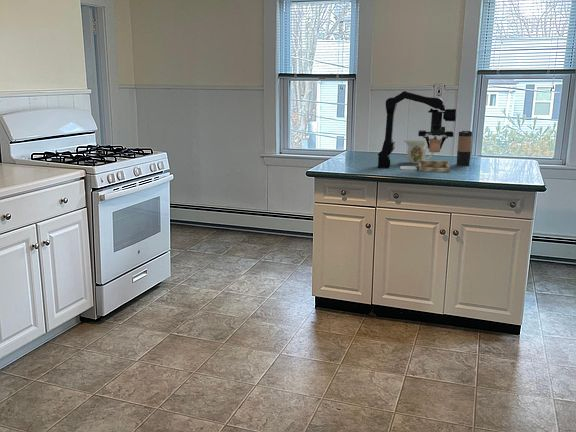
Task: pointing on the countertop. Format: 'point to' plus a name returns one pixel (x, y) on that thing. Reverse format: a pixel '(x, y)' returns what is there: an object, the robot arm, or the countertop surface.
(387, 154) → the robot arm
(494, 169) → the countertop surface
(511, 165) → the countertop surface
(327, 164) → the countertop surface
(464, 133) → the travel mug
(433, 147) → the pot
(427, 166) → the wooden tray
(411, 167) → the tile
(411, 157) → the pitcher
